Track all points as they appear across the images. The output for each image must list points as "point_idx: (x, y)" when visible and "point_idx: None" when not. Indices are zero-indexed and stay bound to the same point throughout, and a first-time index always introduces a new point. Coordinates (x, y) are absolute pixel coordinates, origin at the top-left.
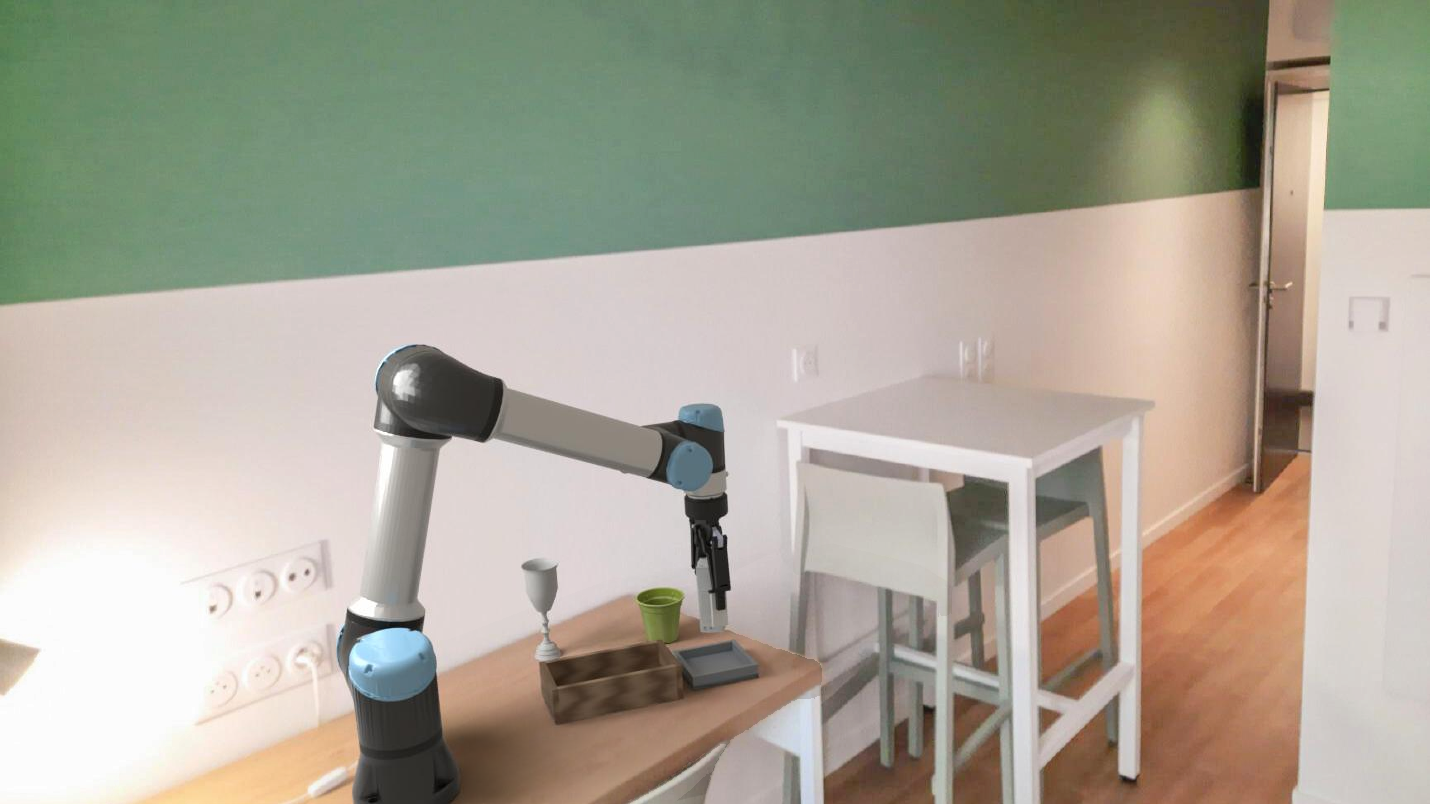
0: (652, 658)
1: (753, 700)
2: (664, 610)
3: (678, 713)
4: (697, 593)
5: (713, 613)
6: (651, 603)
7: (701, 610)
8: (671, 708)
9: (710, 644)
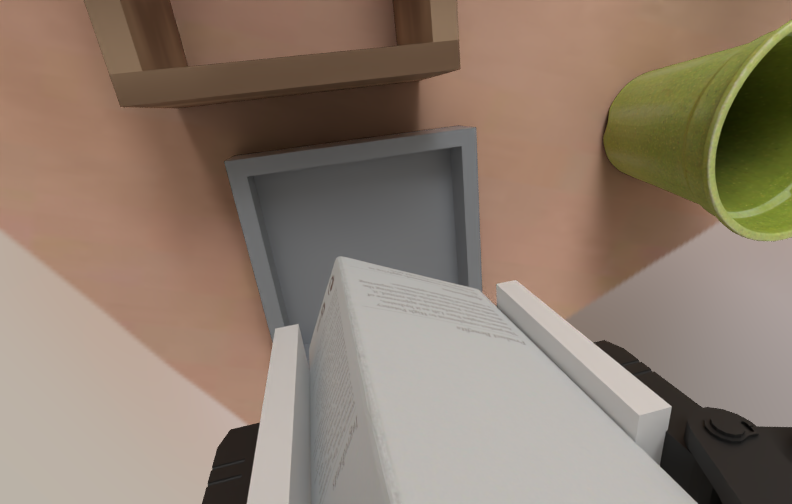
0: (412, 23)
1: (128, 322)
2: (695, 134)
3: (44, 64)
4: (570, 331)
5: (268, 384)
6: None
7: (343, 320)
8: (94, 45)
9: (475, 261)
